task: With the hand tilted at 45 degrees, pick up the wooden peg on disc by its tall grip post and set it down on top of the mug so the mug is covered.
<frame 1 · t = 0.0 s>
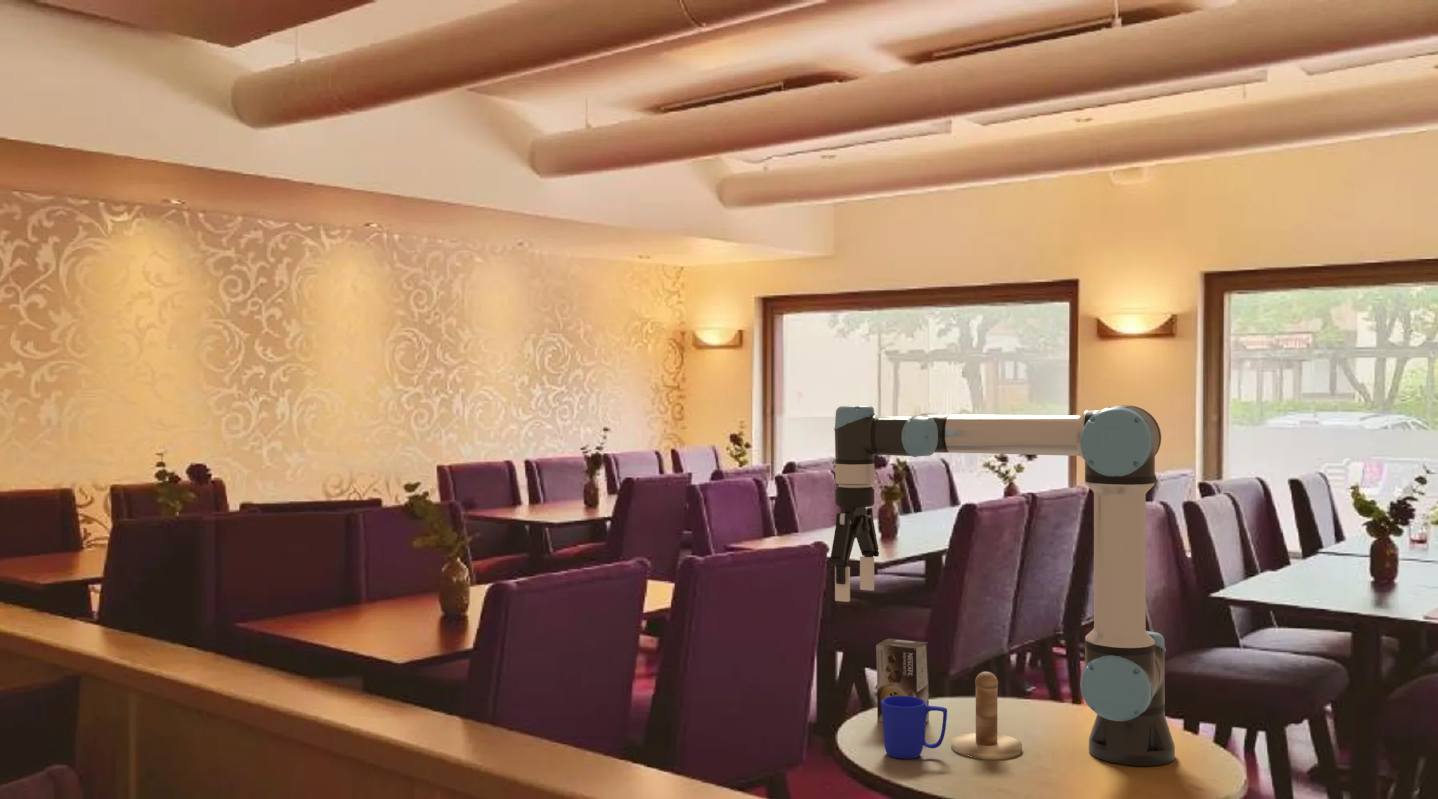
hand: (855, 595, 237), 28 cm above the table, tool pointing down, fingers open, 13 cm apart
mug: (914, 756, 227), on the table
coffee box: (902, 722, 250), on the table
wooden peg on disc: (986, 748, 231), on the table
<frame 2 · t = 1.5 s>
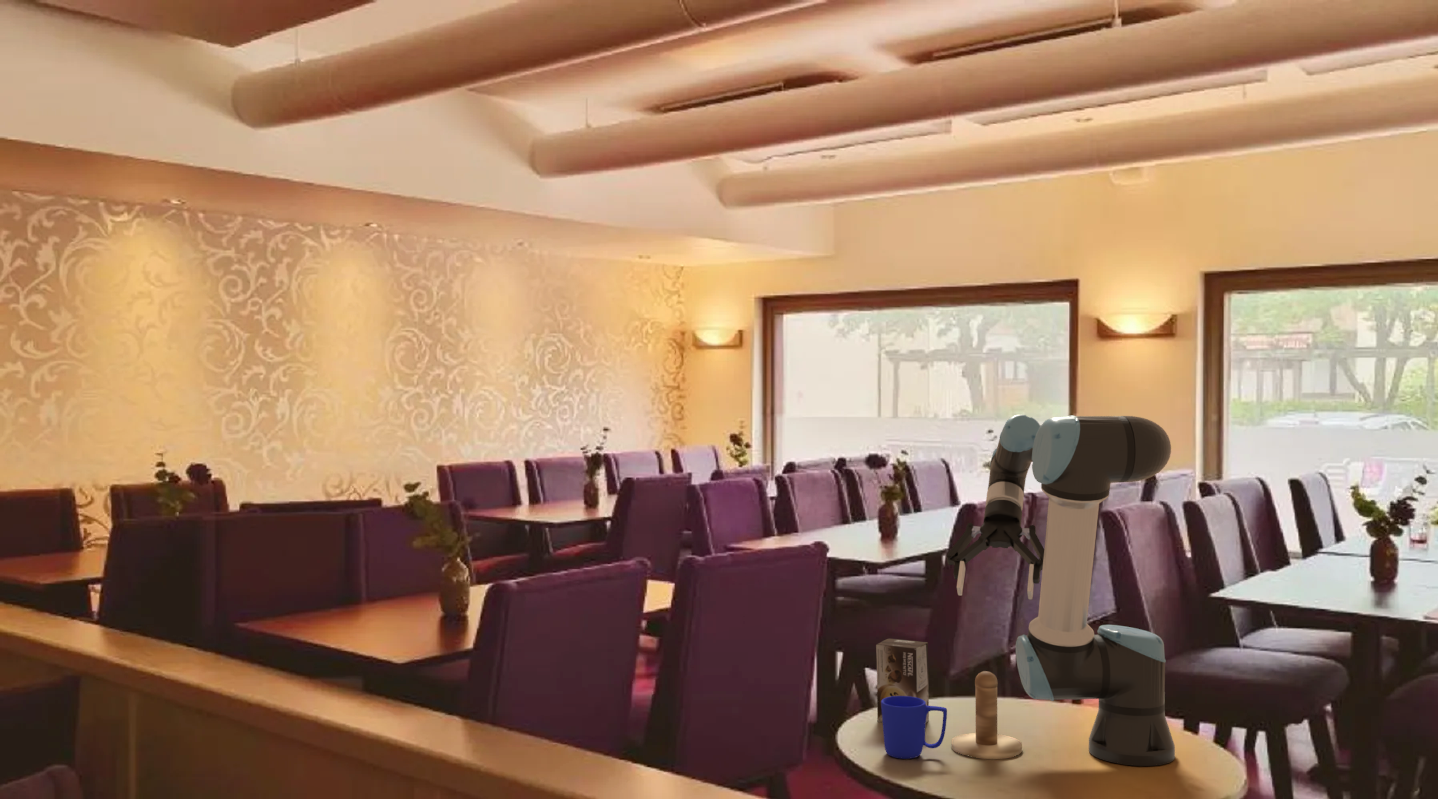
hand: (994, 593, 241), 28 cm above the table, tool tilted 45°, fingers open, 13 cm apart
nothing on the table moved.
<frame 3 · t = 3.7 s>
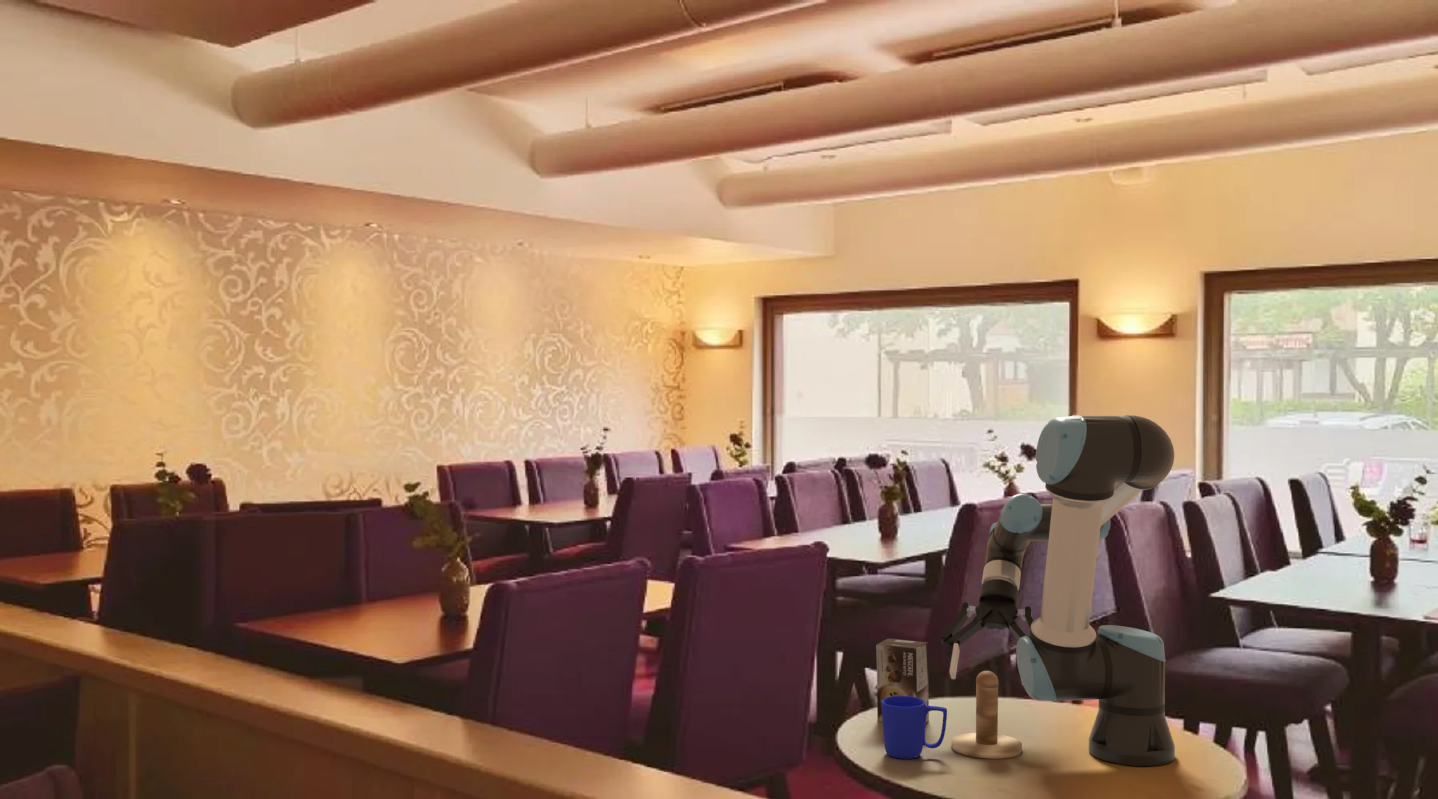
hand: (987, 678, 237), 12 cm above the table, tool tilted 45°, fingers open, 13 cm apart
nothing on the table moved.
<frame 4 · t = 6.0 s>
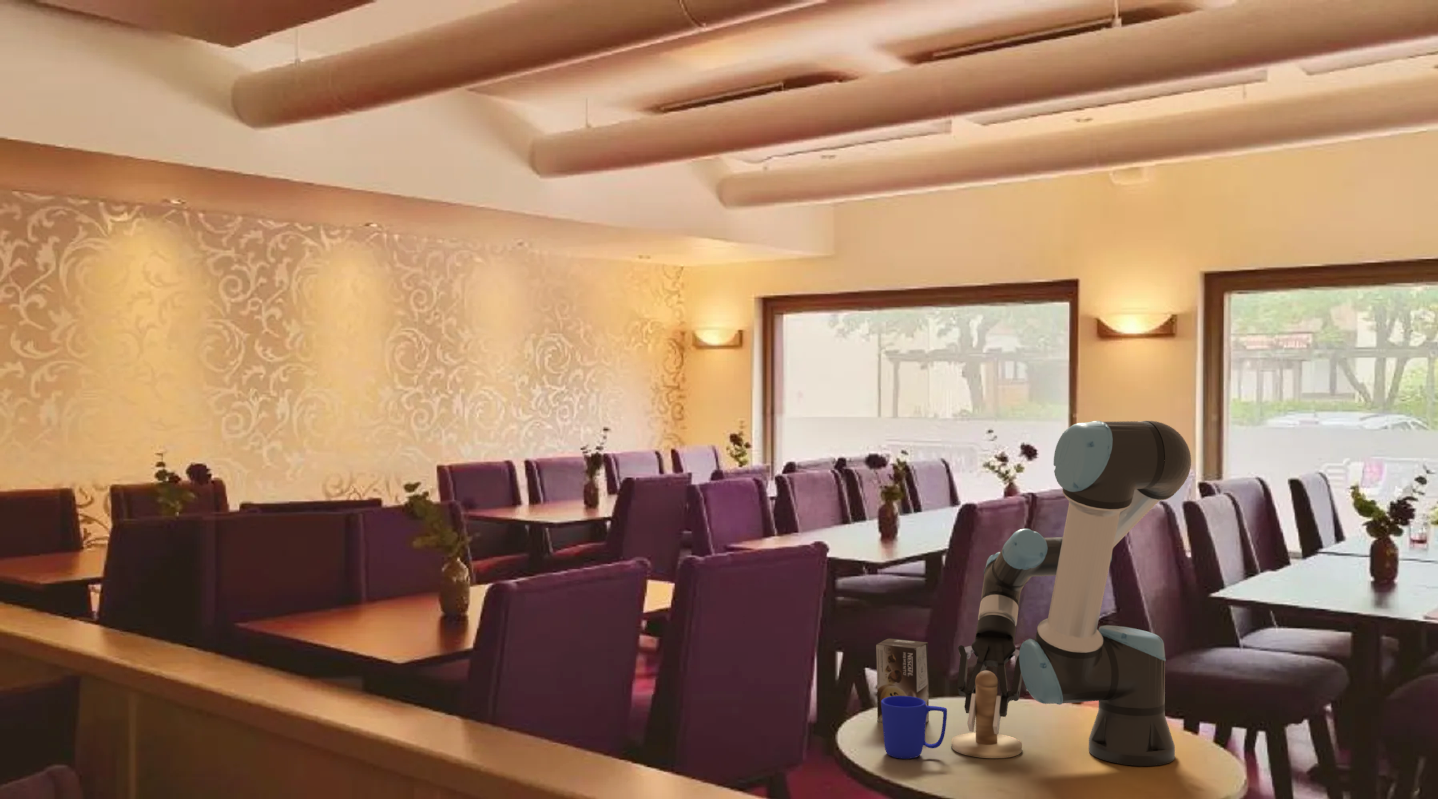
hand: (983, 728, 228), 5 cm above the table, tool tilted 45°, fingers closed on wooden peg on disc, 4 cm apart
wooden peg on disc: (986, 748, 231), on the table, touching gripper
everything else where it was.
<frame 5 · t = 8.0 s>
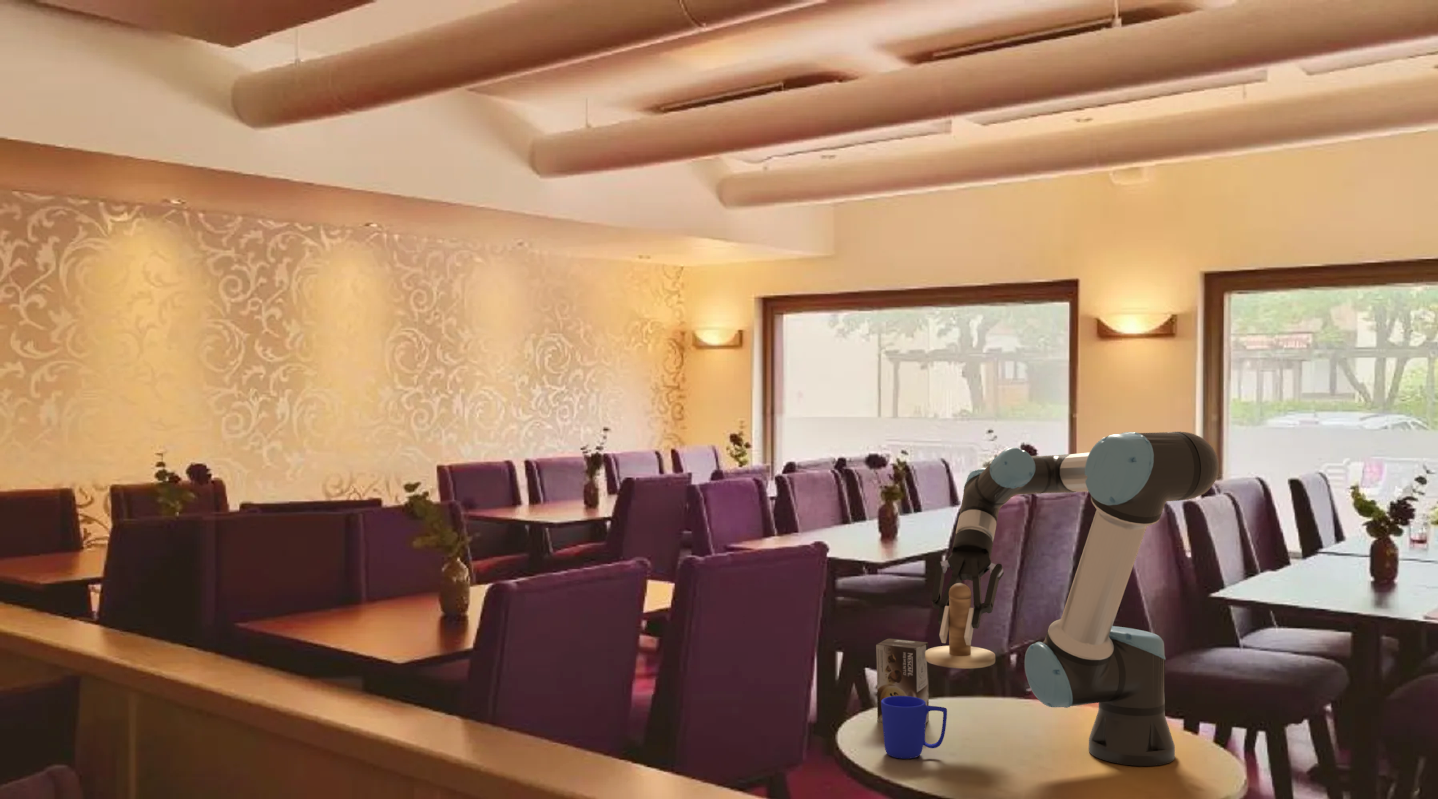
hand: (954, 640, 229), 21 cm above the table, tool tilted 45°, fingers closed on wooden peg on disc, 4 cm apart
wooden peg on disc: (960, 659, 232), point 16 cm above the table, touching gripper
everything else where it was.
when the fingers open (16 cm above the table, at t = 9.9 s): wooden peg on disc drops 1 cm, resting on mug.
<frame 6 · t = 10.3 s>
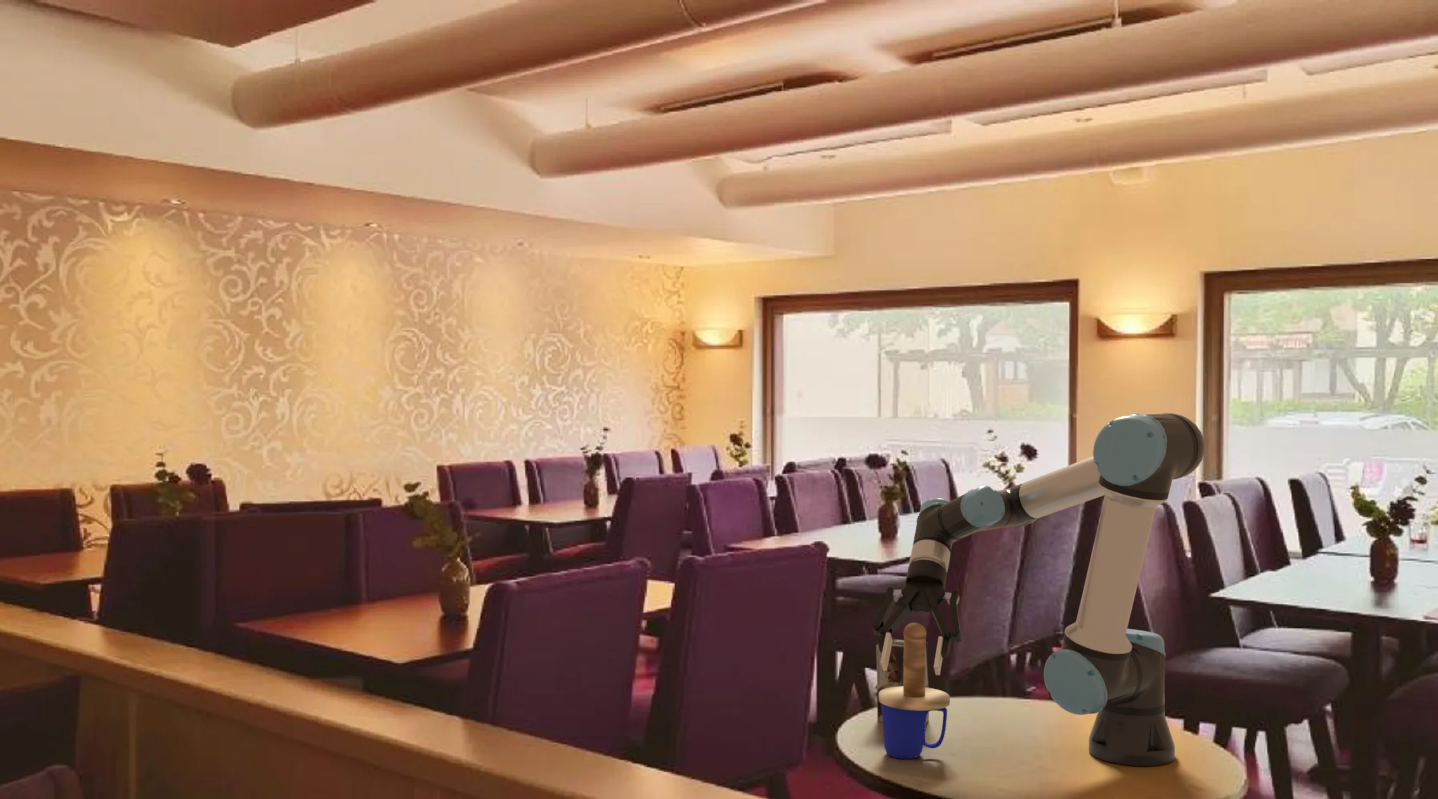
hand: (909, 668, 224), 17 cm above the table, tool tilted 45°, fingers open, 9 cm apart
mug: (914, 756, 227), on the table, touching wooden peg on disc
wooden peg on disc: (914, 701, 227), point 10 cm above the table, touching mug
everything else where it was.
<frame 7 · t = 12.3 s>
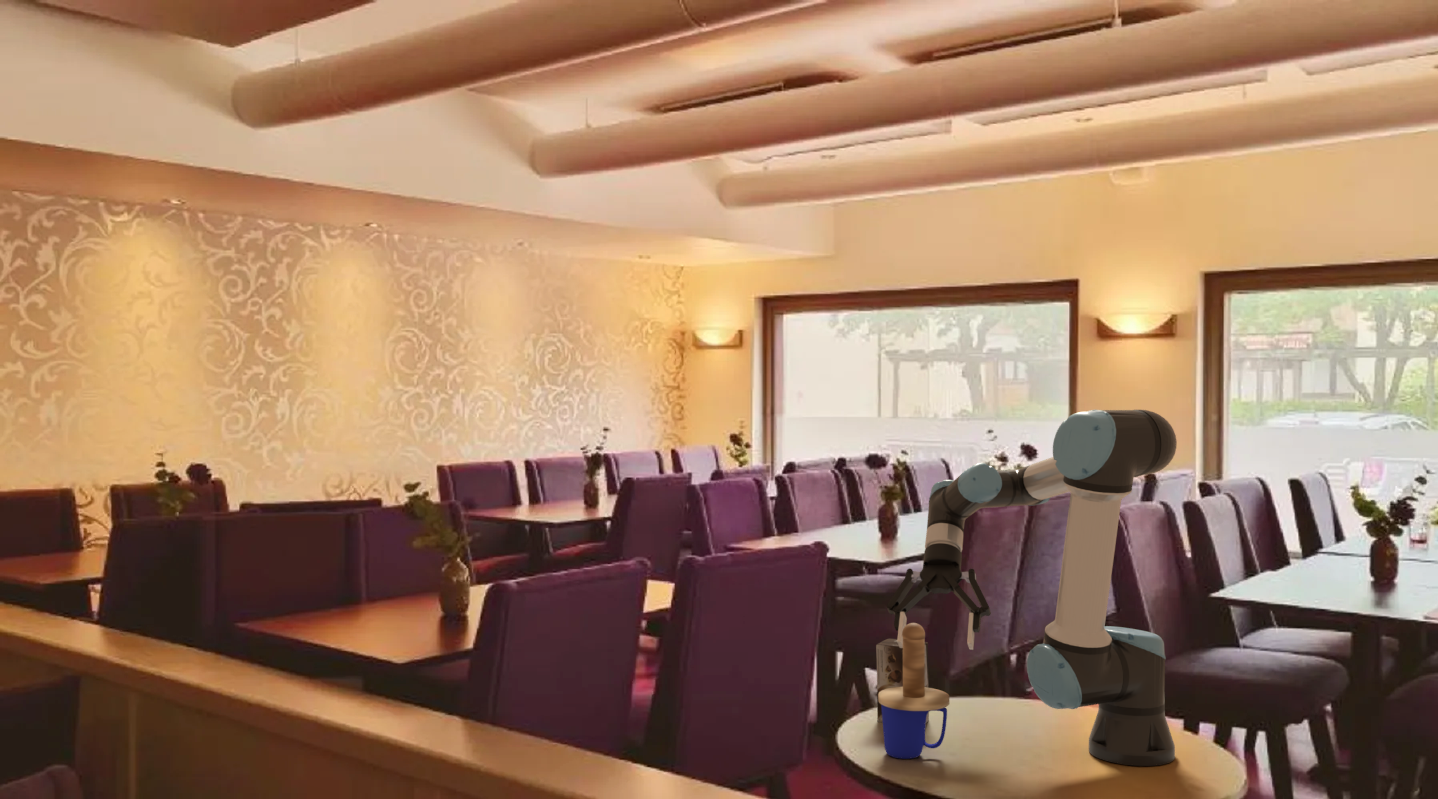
hand: (934, 645, 238), 18 cm above the table, tool tilted 40°, fingers open, 13 cm apart
nothing on the table moved.
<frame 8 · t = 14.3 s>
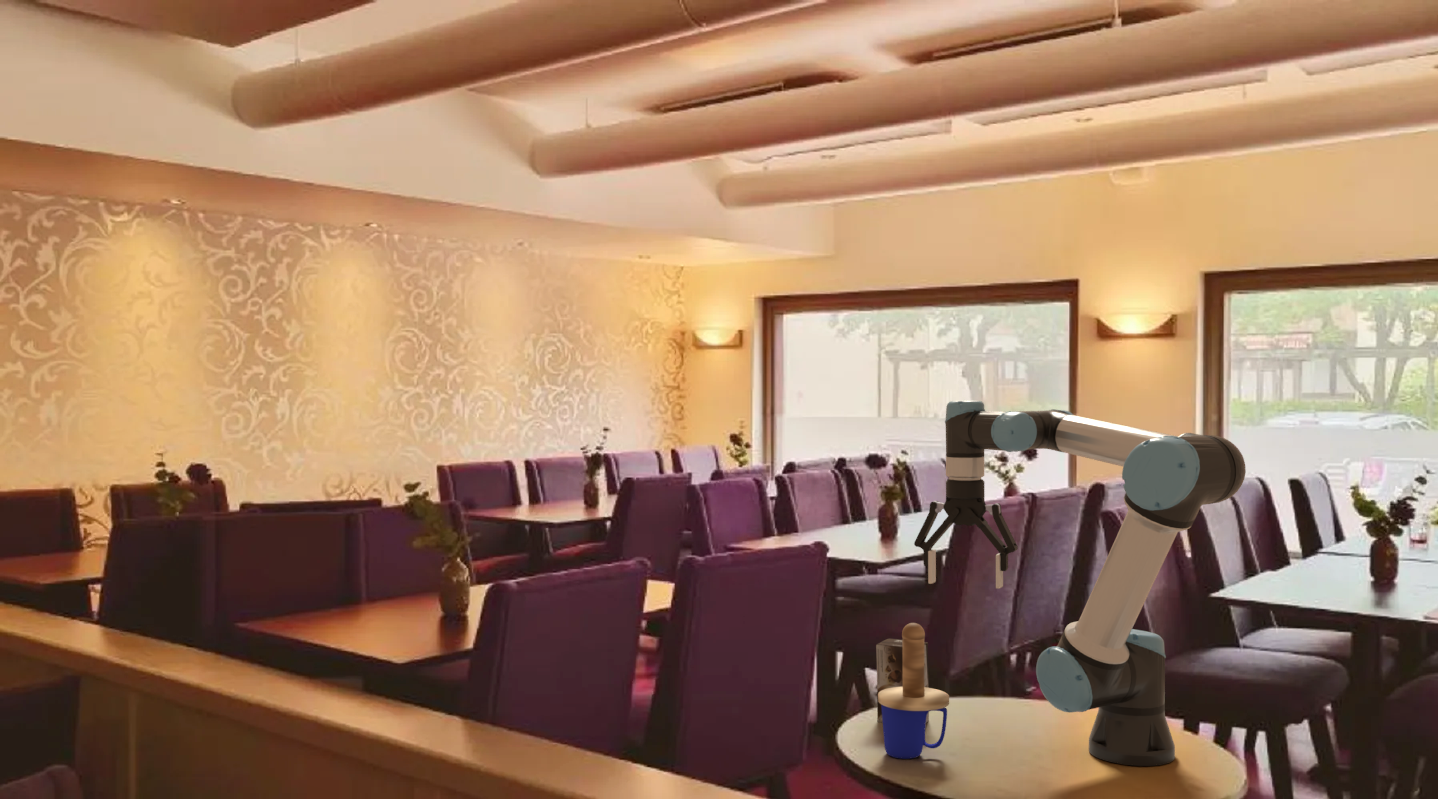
hand: (965, 585, 244), 29 cm above the table, tool pointing down, fingers open, 13 cm apart
nothing on the table moved.
at the end: wooden peg on disc inside the target area on the mug (0.1 cm from its centre), point 10.2 cm above the mug's base; wooden peg on disc tilted 0°; the gripper is holding nothing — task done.
